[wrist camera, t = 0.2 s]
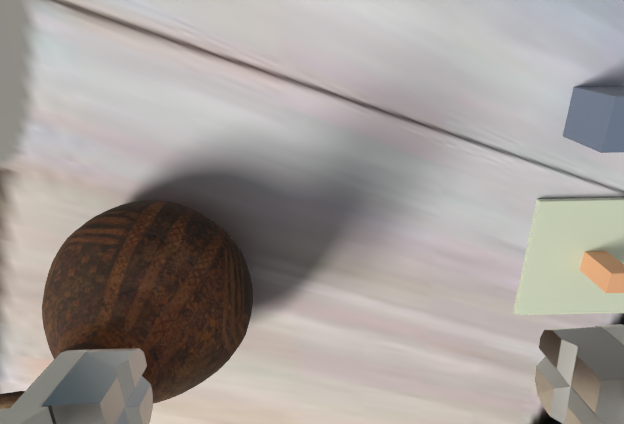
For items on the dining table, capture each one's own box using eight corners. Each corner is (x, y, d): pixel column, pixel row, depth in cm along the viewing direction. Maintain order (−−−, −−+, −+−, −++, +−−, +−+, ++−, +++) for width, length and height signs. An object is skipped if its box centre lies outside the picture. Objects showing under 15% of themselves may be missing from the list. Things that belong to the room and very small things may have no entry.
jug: (59, 188, 48) (-269, 402, 21) (247, 178, 48) (164, 380, 20) (107, 338, 57) (-79, 628, 30) (266, 330, 57) (226, 616, 29)
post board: (536, 198, 49) (564, 219, 44) (674, 196, 49) (718, 216, 44) (513, 311, 56) (534, 341, 50) (634, 308, 56) (668, 338, 50)
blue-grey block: (573, 87, 44) (616, 96, 38) (623, 86, 44) (673, 95, 38) (562, 136, 46) (601, 152, 40) (610, 135, 46) (655, 151, 40)
